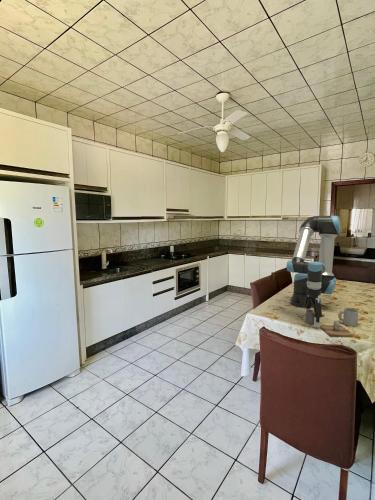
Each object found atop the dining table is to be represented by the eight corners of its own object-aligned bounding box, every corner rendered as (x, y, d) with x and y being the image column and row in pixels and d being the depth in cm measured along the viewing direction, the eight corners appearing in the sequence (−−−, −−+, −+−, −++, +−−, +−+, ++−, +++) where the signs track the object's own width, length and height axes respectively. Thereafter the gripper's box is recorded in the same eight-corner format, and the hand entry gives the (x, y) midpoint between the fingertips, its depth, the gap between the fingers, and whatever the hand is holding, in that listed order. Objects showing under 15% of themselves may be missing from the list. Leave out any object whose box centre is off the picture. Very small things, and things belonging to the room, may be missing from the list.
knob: (303, 320, 160) (304, 308, 159) (315, 320, 160) (316, 308, 159) (308, 325, 153) (309, 313, 152) (320, 325, 153) (321, 313, 152)
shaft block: (319, 327, 150) (320, 317, 149) (341, 327, 150) (341, 317, 149) (330, 336, 138) (331, 325, 138) (353, 337, 138) (354, 326, 137)
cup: (357, 328, 149) (358, 313, 148) (337, 324, 154) (338, 310, 153) (357, 323, 155) (358, 309, 154) (338, 320, 160) (339, 306, 159)
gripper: (299, 282, 165) (298, 315, 168) (316, 293, 142) (314, 331, 145) (311, 282, 165) (309, 315, 168) (330, 293, 141) (328, 331, 144)
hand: (311, 322), depth 156 cm, fingers open, 12 cm apart
